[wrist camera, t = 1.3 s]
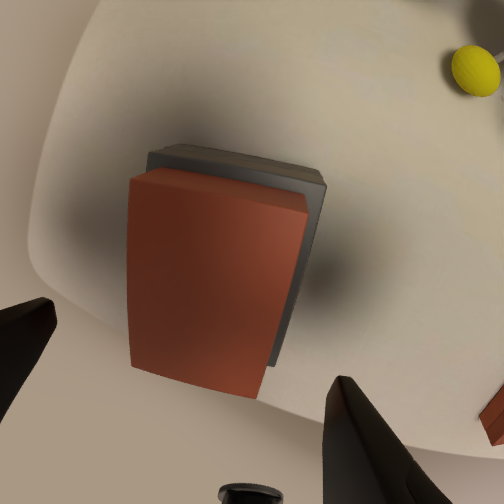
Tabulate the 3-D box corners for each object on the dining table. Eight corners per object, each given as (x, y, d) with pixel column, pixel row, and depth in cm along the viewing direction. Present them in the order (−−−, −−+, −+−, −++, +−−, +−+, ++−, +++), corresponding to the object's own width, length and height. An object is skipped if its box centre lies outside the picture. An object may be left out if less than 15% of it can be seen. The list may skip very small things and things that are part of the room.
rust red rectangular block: (261, 360, 14) (256, 399, 12) (151, 333, 14) (130, 366, 12) (305, 194, 11) (309, 213, 9) (160, 166, 11) (129, 178, 9)
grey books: (278, 323, 18) (274, 370, 14) (164, 296, 18) (137, 336, 15) (318, 170, 14) (329, 186, 11) (178, 143, 15) (144, 151, 11)
